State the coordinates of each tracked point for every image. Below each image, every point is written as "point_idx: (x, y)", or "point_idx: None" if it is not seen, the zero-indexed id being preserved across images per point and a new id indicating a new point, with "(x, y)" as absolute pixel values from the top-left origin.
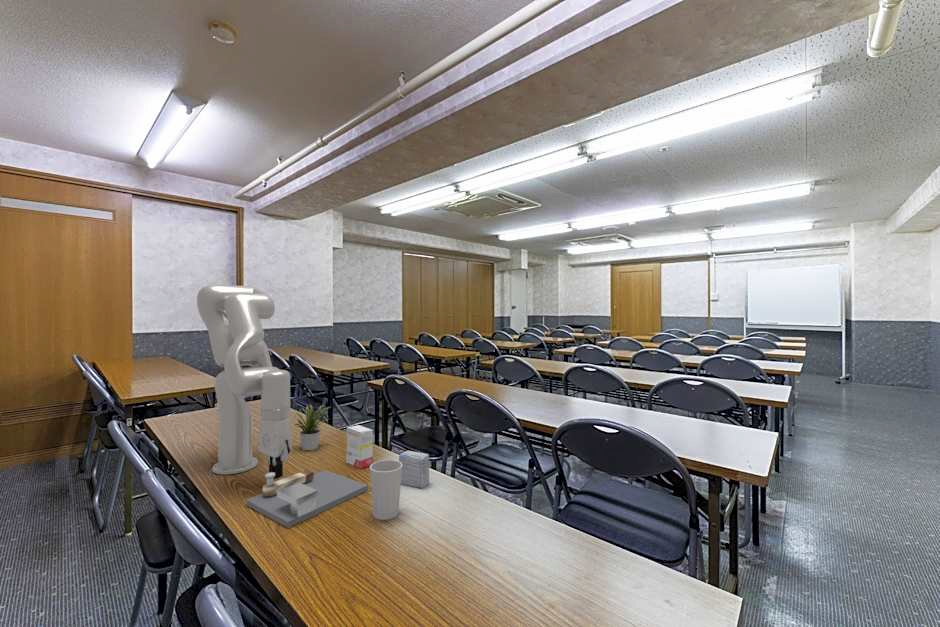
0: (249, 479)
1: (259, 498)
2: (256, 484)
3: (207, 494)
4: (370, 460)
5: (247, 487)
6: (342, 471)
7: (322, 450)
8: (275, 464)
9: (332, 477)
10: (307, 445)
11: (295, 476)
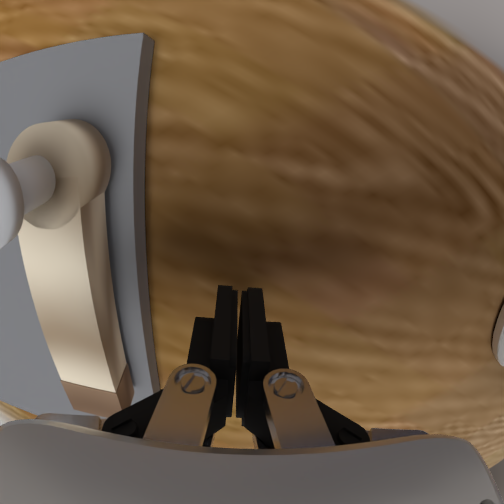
0: (448, 266)
1: (86, 96)
2: (373, 248)
3: (480, 55)
4: None
5: (387, 197)
6: None
7: None
8: (168, 380)
9: (75, 413)
10: None
11: (75, 352)
